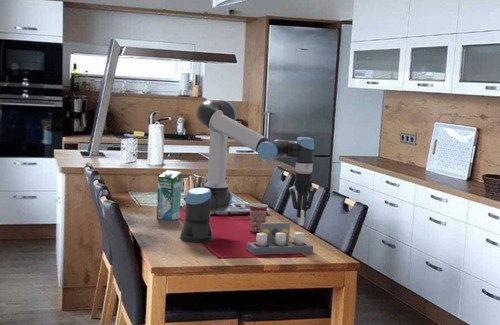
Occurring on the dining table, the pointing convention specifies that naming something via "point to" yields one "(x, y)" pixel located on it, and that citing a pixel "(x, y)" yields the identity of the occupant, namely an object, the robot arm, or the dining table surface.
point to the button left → (261, 240)
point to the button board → (280, 248)
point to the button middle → (280, 239)
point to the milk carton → (169, 195)
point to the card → (275, 230)
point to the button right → (299, 238)
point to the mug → (257, 216)
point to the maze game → (238, 209)
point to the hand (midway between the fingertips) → (300, 224)
